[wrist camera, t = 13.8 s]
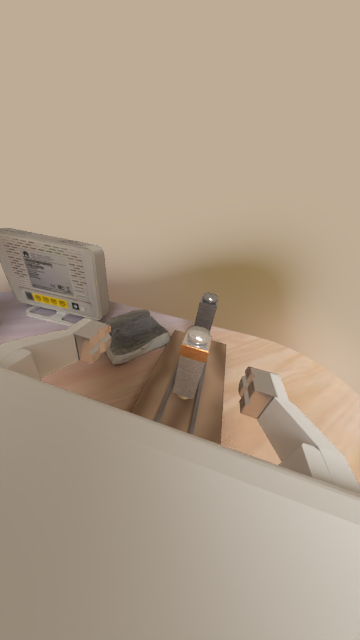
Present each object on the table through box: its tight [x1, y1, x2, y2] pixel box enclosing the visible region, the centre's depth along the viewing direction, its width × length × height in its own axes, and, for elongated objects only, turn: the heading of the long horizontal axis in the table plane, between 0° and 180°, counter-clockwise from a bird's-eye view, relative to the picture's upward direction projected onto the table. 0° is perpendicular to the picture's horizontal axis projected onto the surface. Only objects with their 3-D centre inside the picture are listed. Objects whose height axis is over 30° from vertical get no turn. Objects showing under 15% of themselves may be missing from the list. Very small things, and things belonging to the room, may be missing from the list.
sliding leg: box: [173, 326, 212, 399], centre depth 26 cm, size 4×4×13 cm
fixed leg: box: [194, 293, 218, 332], centre depth 38 cm, size 4×4×13 cm
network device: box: [0, 228, 110, 326], centre depth 42 cm, size 26×9×20 cm, turn 79°
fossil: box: [104, 310, 170, 365], centre depth 43 cm, size 15×16×4 cm
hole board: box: [131, 330, 226, 444], centre depth 31 cm, size 14×34×3 cm, turn 164°
